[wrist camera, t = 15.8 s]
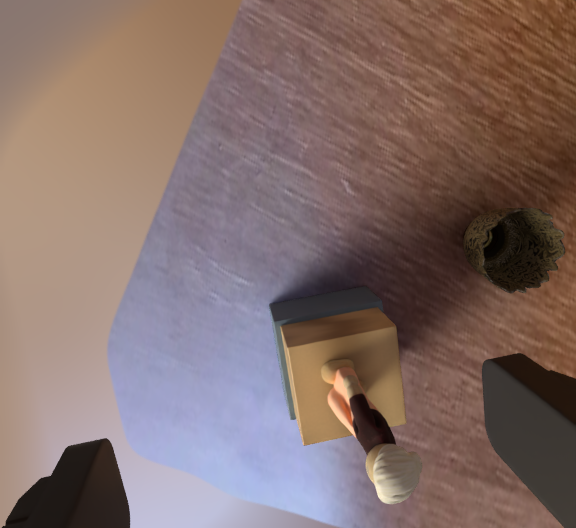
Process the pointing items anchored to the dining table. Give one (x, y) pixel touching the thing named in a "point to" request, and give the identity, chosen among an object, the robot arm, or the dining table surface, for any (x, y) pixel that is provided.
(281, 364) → the base block
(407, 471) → the grandmother figurine
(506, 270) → the cup
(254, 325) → the dining table surface
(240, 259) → the dining table surface
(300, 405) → the top block
